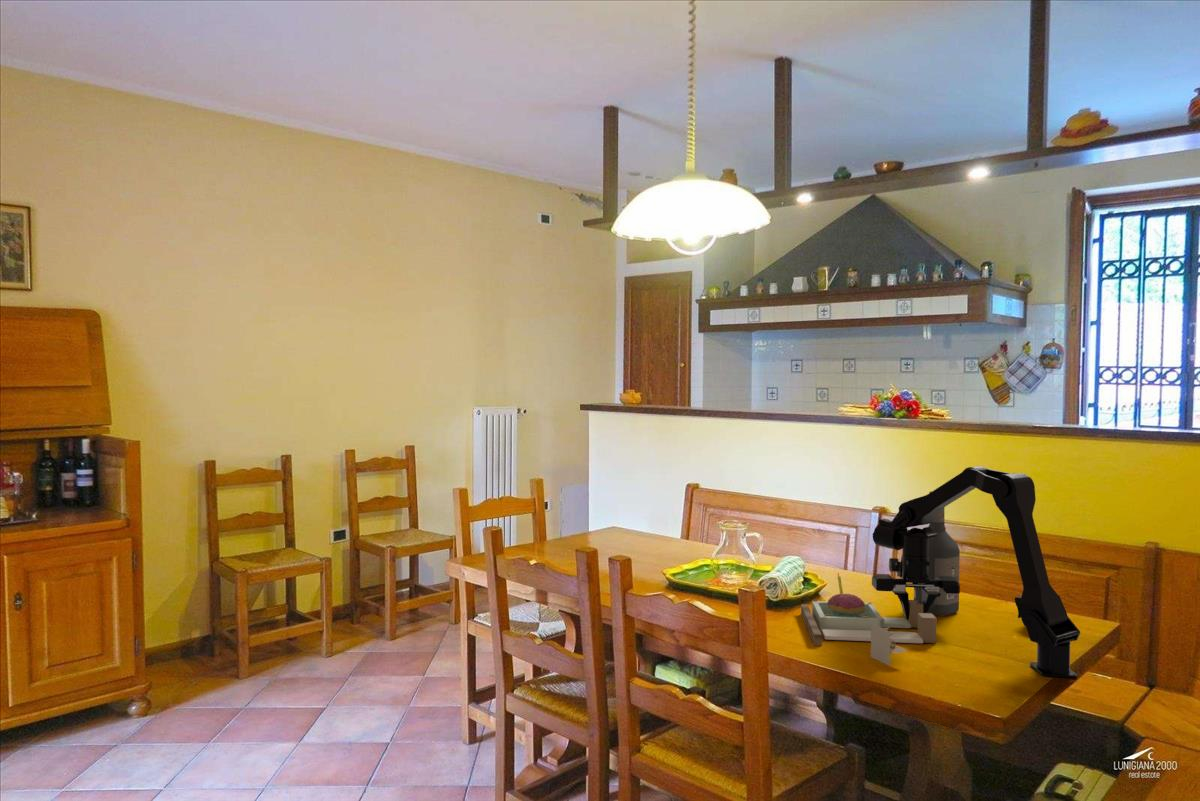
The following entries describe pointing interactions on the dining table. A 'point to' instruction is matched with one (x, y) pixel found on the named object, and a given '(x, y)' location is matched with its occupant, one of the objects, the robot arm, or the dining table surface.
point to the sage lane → (864, 623)
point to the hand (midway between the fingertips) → (914, 619)
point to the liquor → (942, 567)
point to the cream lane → (924, 632)
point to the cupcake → (845, 604)
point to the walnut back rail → (811, 625)
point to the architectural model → (883, 644)
